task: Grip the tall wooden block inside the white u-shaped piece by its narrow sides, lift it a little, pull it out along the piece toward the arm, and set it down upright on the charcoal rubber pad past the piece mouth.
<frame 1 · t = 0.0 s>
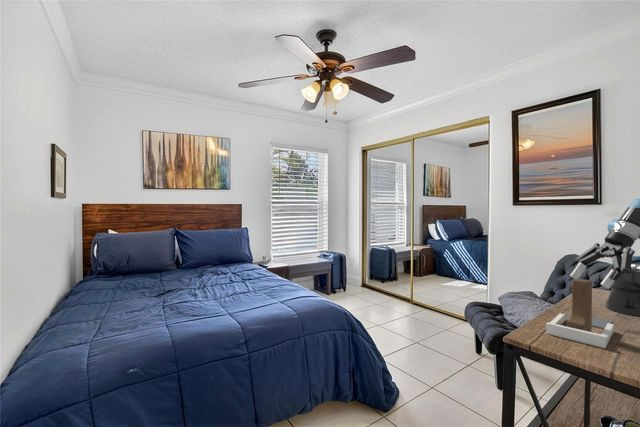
hand: (587, 281, 115), 15 cm above the table, tool tilted 35°, fingers open, 13 cm apart
white u-shaped piece: (580, 331, 107), on the table
wooden block: (579, 333, 105), resting in white u-shaped piece
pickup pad: (588, 321, 116), on the table
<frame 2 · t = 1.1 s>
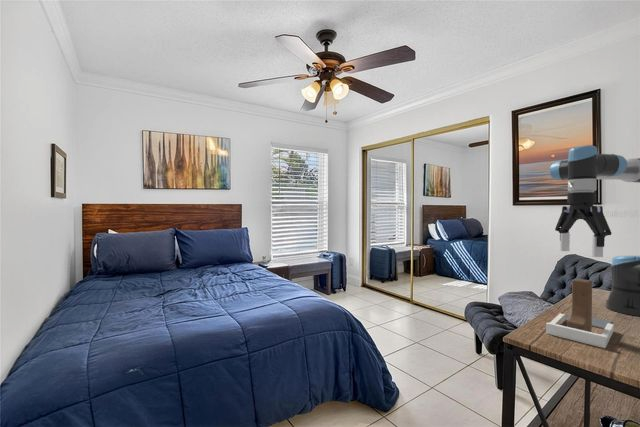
hand: (580, 253, 105), 27 cm above the table, tool pointing down, fingers open, 13 cm apart
nothing on the table moved.
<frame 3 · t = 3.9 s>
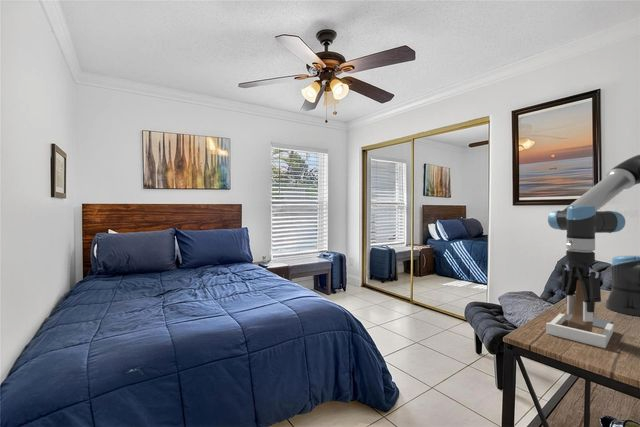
hand: (579, 317, 105), 5 cm above the table, tool pointing down, fingers closed on wooden block, 6 cm apart
wooden block: (579, 333, 105), resting in white u-shaped piece, touching gripper
when the fingers open (7 cm above the table, at t = 10.2 s): wooden block drops 1 cm, resting on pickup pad.
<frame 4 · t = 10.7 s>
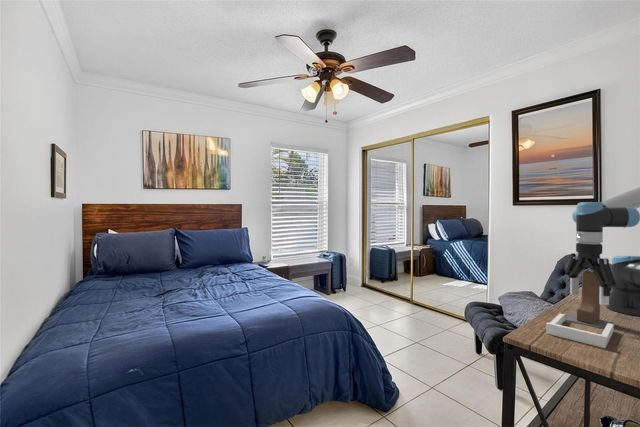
hand: (588, 299, 116), 8 cm above the table, tool pointing down, fingers open, 12 cm apart
wooden block: (588, 320, 116), resting on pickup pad
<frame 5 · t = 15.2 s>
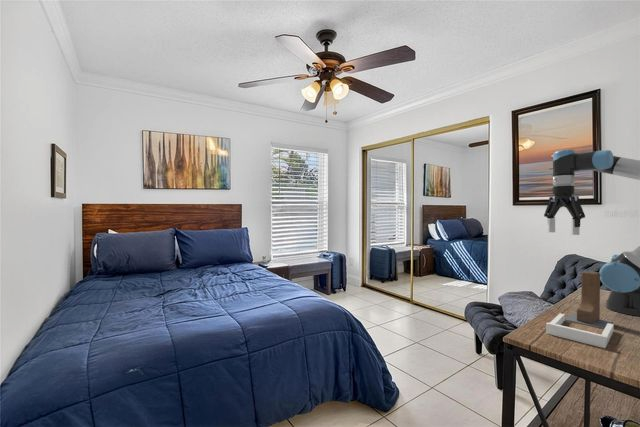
hand: (562, 233, 136), 32 cm above the table, tool pointing down, fingers open, 13 cm apart
nothing on the table moved.
at the end: wooden block inside the target area on the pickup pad (0.1 cm from its centre), point 0.2 cm above the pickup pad's base; wooden block tilted 0°; the gripper is holding nothing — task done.
